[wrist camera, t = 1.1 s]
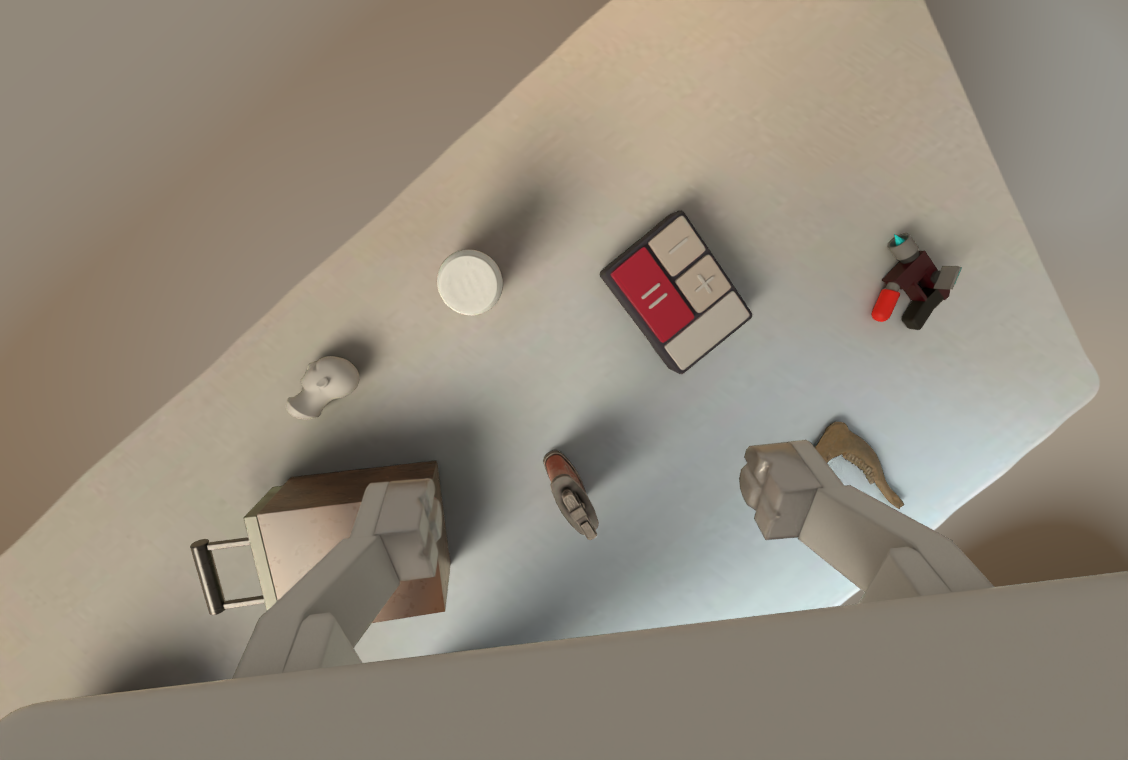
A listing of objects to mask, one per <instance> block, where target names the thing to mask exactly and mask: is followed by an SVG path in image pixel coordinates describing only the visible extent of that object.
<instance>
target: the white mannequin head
mask: <svg viewBox="0 0 1128 760" xmlns="http://www.w3.org/2000/svg"><path fill="white" fill-rule="evenodd" d="M301 383H302V386H303V388H304V390H303V391H301V392H300V393H299V394H298V395H296V396H295V397H289V398H288V399H287V404H286V409H287V411H288V412H289V413H290V414H291V415H292V416H294V417H296V418H299V419H304V420H308V419H312V418H316V417H319V416H320V414H321V411H322V410H323V408H324V407H325V406H326V404H327V403H329V402H330V401H331V400H333V399H337V398H342V397H345V396H347V395H349V394H350V393H352V392H353V391H354V390H355V389H356V387H357V386H358V384H359V373H358V371H357V369H356V368H355V366H354V365H353V364H352V363H351V362H349V361H348V360H346V359H343V358H340V357H334V356H327V357H323V358H321V359H319V360H318V361H316V362H313V363H310V364H309V365H308V370H307V371H306V373H305V375H304V377H303V378H302V379H301Z"/></svg>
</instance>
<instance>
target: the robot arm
mask: <svg viewBox="0 0 1128 760" xmlns="http://www.w3.org/2000/svg"><path fill="white" fill-rule="evenodd" d="M744 458H745V459H746V461H747V464H746V465H745V466H744V467H743V468H742V469H741V472H740V477H739V482H740V490H741V493H742V496H743V498H744V500H745V502H746V504H747V505H748V506H750V507H751V508H753V509H754V510H756V513H755V517H754V519H755V521H756V523H757V525H758V527H759V529H760V531H761V532H762V534H763V536H764V538H765V540H771V539H783V538H795V537H799V538H798V539H799V540H800V541H801V542H803V543H804V544H805V545H806V546H808V547H809V548H810V549H811V550H813V551H814V552H815V553H816V554H818V555H819V556H820V557H821V558H822V559H824V560H825V561H826V562H827V563H829V564H830V565H831V566H832V567H834V568H835V569H836V570H837V571H839V572H840V573H841V574H842V575H844V576H845V577H846V578H847V579H849V580H850V581H851V582H852V583H854V584H855V585H856V586H857V587H859V588H860V589H861V590H862V591H864V592H865V593H864V595H863V596H862V598H861V600H860V601H859V603H858V604H852V605H845V606H835V607H827V608H819V609H810V610H802V611H794V612H785V613H777V614H769V615H761V616H752V617H744V618H736V619H727V620H719V621H711V622H702V623H694V624H686V625H677V626H669V627H661V628H652V629H644V630H636V631H627V632H619V633H610V634H602V635H594V636H585V637H577V638H569V639H560V640H552V641H544V642H535V643H527V644H519V645H510V646H502V647H494V648H485V649H477V650H469V651H460V652H452V653H444V654H435V655H427V656H419V657H410V658H402V659H394V660H385V661H377V662H369V663H362V661H361V660H360V658H359V657H358V655H357V653H356V652H355V650H354V647H355V645H356V644H357V642H358V641H359V640H360V638H361V637H362V636H363V634H364V633H365V631H366V630H367V629H368V627H369V626H370V625H371V623H372V622H373V620H374V619H375V618H376V616H377V615H378V614H379V612H380V611H381V609H382V608H383V607H384V605H385V604H386V603H387V601H388V600H389V598H390V597H391V596H392V594H393V593H394V592H395V590H396V589H397V587H398V586H399V585H400V582H401V581H408V580H415V579H422V578H429V577H435V574H436V567H437V560H438V553H439V552H438V549H437V546H436V542H437V541H438V540H439V539H440V537H441V531H442V512H441V506H440V502H439V500H438V499H436V498H435V497H434V494H435V486H434V483H433V480H432V479H430V478H427V479H414V480H401V481H390V482H379V483H370V484H369V485H368V487H367V488H366V490H365V493H364V496H363V499H362V502H361V505H360V508H359V511H358V514H357V517H356V520H355V523H354V526H353V529H352V532H351V535H350V538H346V539H343V540H342V541H341V542H339V543H338V544H337V545H336V546H335V547H334V548H333V549H332V550H331V551H330V552H329V553H328V554H327V555H326V556H325V557H324V558H323V559H321V560H320V561H319V562H318V563H317V564H316V565H315V566H314V567H313V568H312V569H311V570H310V571H309V572H308V573H307V574H306V575H305V576H303V577H302V578H301V579H300V580H299V581H298V582H297V583H296V584H295V585H294V586H293V587H292V588H291V589H290V590H289V591H288V592H287V593H285V594H284V595H283V596H282V597H281V598H280V599H279V600H278V601H277V602H276V603H275V604H274V605H273V606H272V607H271V608H270V609H269V610H268V611H266V612H265V613H264V614H263V615H262V616H261V617H260V618H259V620H258V622H257V624H256V626H255V629H254V631H253V633H252V635H251V638H250V640H249V642H248V644H247V647H246V649H245V651H244V653H243V656H242V658H241V660H240V662H239V664H238V667H237V669H236V671H235V673H234V676H233V678H232V679H227V680H219V681H211V682H202V683H194V684H186V685H177V686H169V687H161V688H152V689H144V690H135V691H127V692H119V693H110V694H102V695H94V696H85V697H77V698H69V699H60V700H52V701H46V702H40V703H35V704H31V705H28V706H25V707H22V708H19V709H17V710H15V711H13V712H11V713H10V714H8V715H7V716H5V717H4V718H2V719H1V720H0V760H1128V571H1125V572H1117V573H1109V574H1100V575H1092V576H1085V577H1076V578H1068V579H1059V580H1051V581H1042V582H1034V583H1026V584H1018V585H1009V586H1001V587H994V586H993V585H992V584H991V583H990V582H989V581H988V579H987V578H986V577H985V576H984V575H983V574H982V573H981V572H980V571H979V569H978V568H977V567H976V566H975V565H974V564H973V563H972V562H971V561H970V560H969V559H968V557H967V556H966V555H965V554H964V553H963V552H962V551H961V550H960V548H959V547H958V546H957V545H956V544H955V543H954V542H953V541H952V540H951V539H949V538H947V537H945V536H943V535H941V534H939V533H938V532H935V531H934V530H932V529H930V528H928V527H926V526H925V525H923V524H921V523H919V522H917V521H915V520H914V519H912V518H910V517H908V516H906V515H904V514H902V513H901V512H899V511H897V510H895V509H893V508H891V507H890V506H888V505H886V504H884V503H882V502H880V501H878V500H877V499H875V498H873V497H871V496H869V495H867V494H865V493H864V492H862V491H860V490H858V489H856V488H854V487H853V486H851V485H847V486H844V484H843V483H842V482H841V481H840V479H839V478H838V477H837V475H836V474H835V473H834V472H833V470H832V469H831V468H830V467H829V465H828V464H827V463H826V461H825V460H824V459H823V458H822V456H821V455H820V454H819V453H818V451H817V450H816V449H815V447H814V446H813V445H812V444H811V443H810V442H809V441H807V440H800V441H791V442H781V443H772V444H763V445H754V446H749V447H748V448H747V449H746V452H745V456H744Z"/></svg>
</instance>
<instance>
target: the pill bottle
mask: <svg viewBox="0 0 1128 760" xmlns="http://www.w3.org/2000/svg"><path fill="white" fill-rule="evenodd" d="M437 286H438V291H439V294H440V296H441V298H442V299H443V301H444V302H445V303H446V305H447V306H448V307H450V308H451V309H452V310H454V311H456V312H458V313H460V314H463V315H479V314H482V313H485V312H487V311H488V310H490V309H491V308H492V307H493V306H494V305H495V304H496V303H497V302H498V300H499V298H500V296H501V293H502V288H503V280H502V275H501V272H500V269H499V267H498V266H497V264H496V263H495V262H494V261H493V259H492V258H490V257H489V256H488V255H486V254H484V253H482V252H480V251H476V250H461V251H457V252H455V253H453V254H451V255H450V256H449V257H447V258H446V259H445V261H444V262H443V263H442V265H441V267H440V269H439V272H438V277H437Z"/></svg>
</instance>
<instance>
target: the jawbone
mask: <svg viewBox="0 0 1128 760" xmlns="http://www.w3.org/2000/svg"><path fill="white" fill-rule="evenodd" d="M815 449H816V450H817V451H818V453H819V454H820V455H821V456H822V458H823V459H824V460H825V461H826V463H828V461H830V460H831V459H832V458H835V457H837V456H839V455H841V454H842V455H843V458H845V460H848V461H850V462H851V463H852V464H854V465H855V466H856V465H857V466H858V468H859V469H861V470H863V473H864V474H865V475H866V478H867V479H868V481H869V483H870V484H872V483H874V482H875V483H876V485H877V486H878V488H879V489H880V490H881V492H882V493H883V495H884V496H885V498H886V499H887V500H888V501H889V502H890V503H891V504H892V505H894V506H895V507H896V508H898V509H900V507H902V506H904V503H903V502H902V500H901V499H900V498H899V497H898V495H897V494H896V493H894V492H893V491H892V489H891V488H890V487H889V485H888V484H887V482H886V480H885V477H884V473H883V470H882V467H881V464H880V461H879V459H878V457H877V455H876V453H875V452H874V451H873V449H872V448H871V447H870V446H869V445H868V444H867V443H866V442H865V441H864V440H863V439H862V438H860V437H859V436H857V435H855V434H854V433H852V432H851V431H850V430H849V429H848V427H847V425H846V424H845V423H842V422H834V423H832V424H831V425H830V426H828V427H827V428H826V430H825V433H824V434H823V436H822V438H821V439H820V441H819V443H818V444H817V446H816V447H815Z"/></svg>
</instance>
